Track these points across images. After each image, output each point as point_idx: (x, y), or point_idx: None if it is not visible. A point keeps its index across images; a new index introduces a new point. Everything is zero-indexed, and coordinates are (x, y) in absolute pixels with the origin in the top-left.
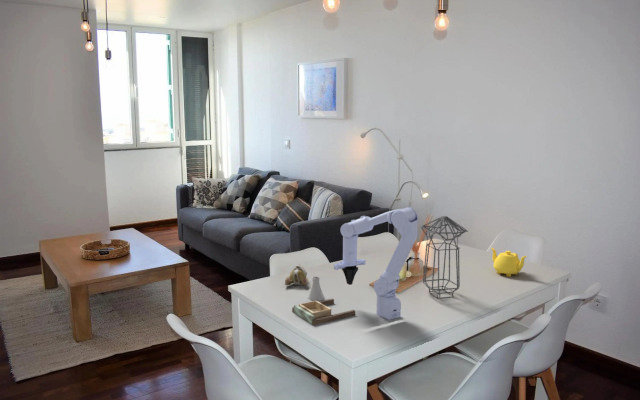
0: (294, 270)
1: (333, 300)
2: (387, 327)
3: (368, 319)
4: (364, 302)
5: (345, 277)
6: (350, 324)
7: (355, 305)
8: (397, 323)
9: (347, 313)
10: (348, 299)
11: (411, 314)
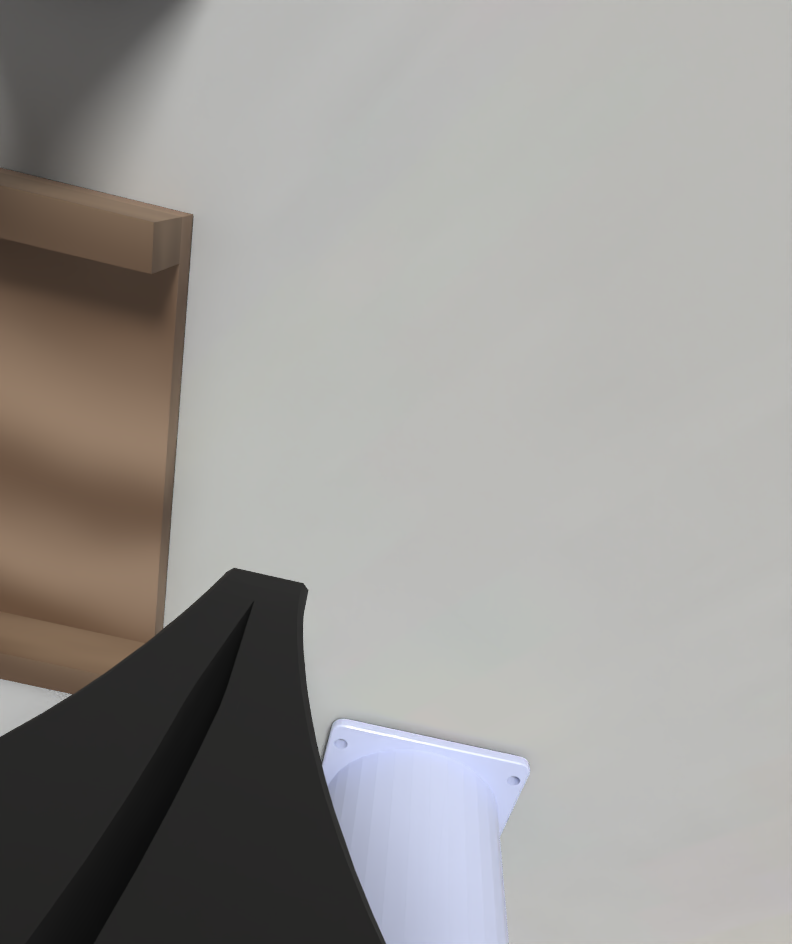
0: None
1: (149, 268)
2: None
3: None
4: (583, 480)
5: (139, 649)
6: (18, 710)
7: (414, 466)
8: None
9: (28, 676)
10: (536, 242)
11: (591, 901)
